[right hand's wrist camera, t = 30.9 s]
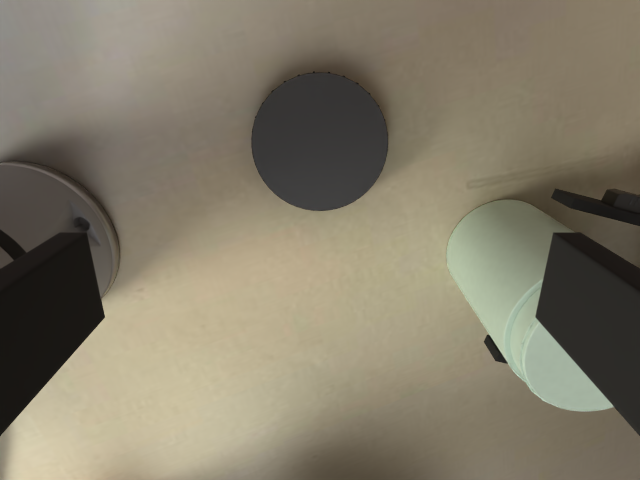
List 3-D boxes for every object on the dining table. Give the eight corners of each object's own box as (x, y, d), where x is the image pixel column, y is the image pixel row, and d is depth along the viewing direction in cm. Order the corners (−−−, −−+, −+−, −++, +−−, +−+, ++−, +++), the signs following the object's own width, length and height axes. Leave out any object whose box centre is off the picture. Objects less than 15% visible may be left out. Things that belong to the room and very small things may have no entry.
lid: (310, 227, 39) (310, 236, 37) (227, 131, 36) (221, 135, 34) (410, 151, 37) (416, 156, 35) (329, 40, 34) (330, 38, 31)
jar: (444, 300, 42) (510, 420, 28) (448, 202, 39) (526, 282, 24) (546, 294, 42) (667, 412, 27) (560, 195, 38) (708, 271, 24)
